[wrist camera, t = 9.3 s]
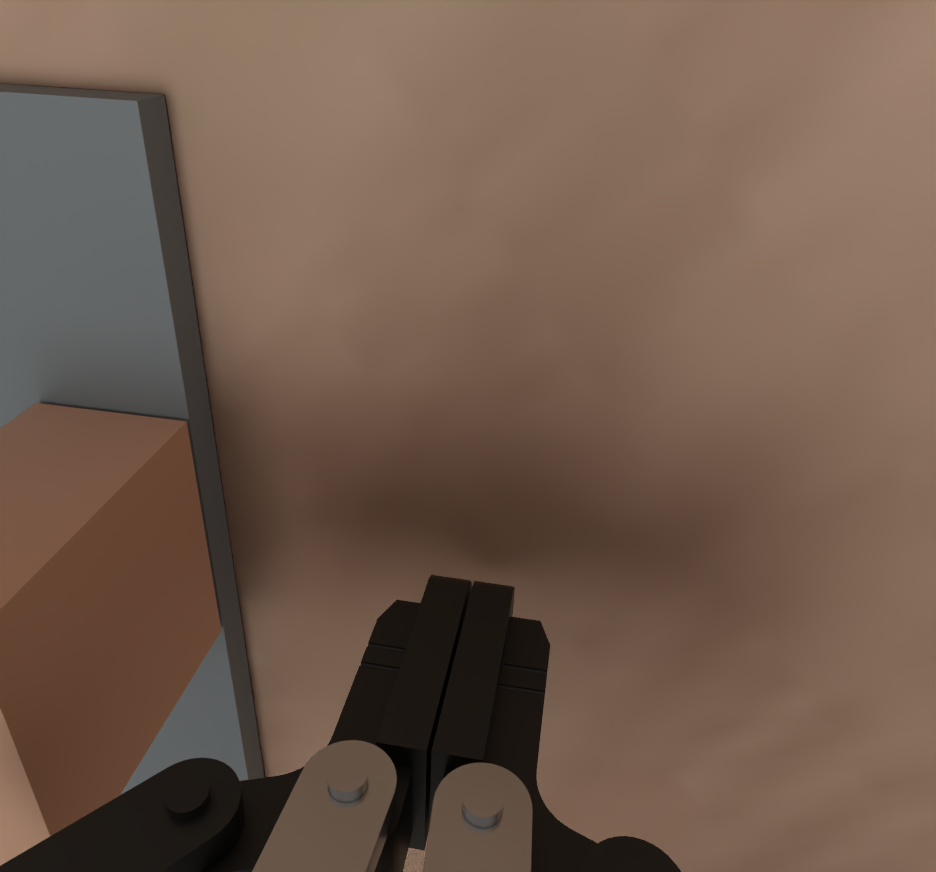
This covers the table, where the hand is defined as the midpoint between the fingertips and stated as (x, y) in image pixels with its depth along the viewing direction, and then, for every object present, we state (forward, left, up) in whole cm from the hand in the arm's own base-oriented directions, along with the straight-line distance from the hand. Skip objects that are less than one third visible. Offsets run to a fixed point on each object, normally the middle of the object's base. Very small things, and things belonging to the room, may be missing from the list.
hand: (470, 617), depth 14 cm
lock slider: (0, +7, -1) cm, 7 cm away
